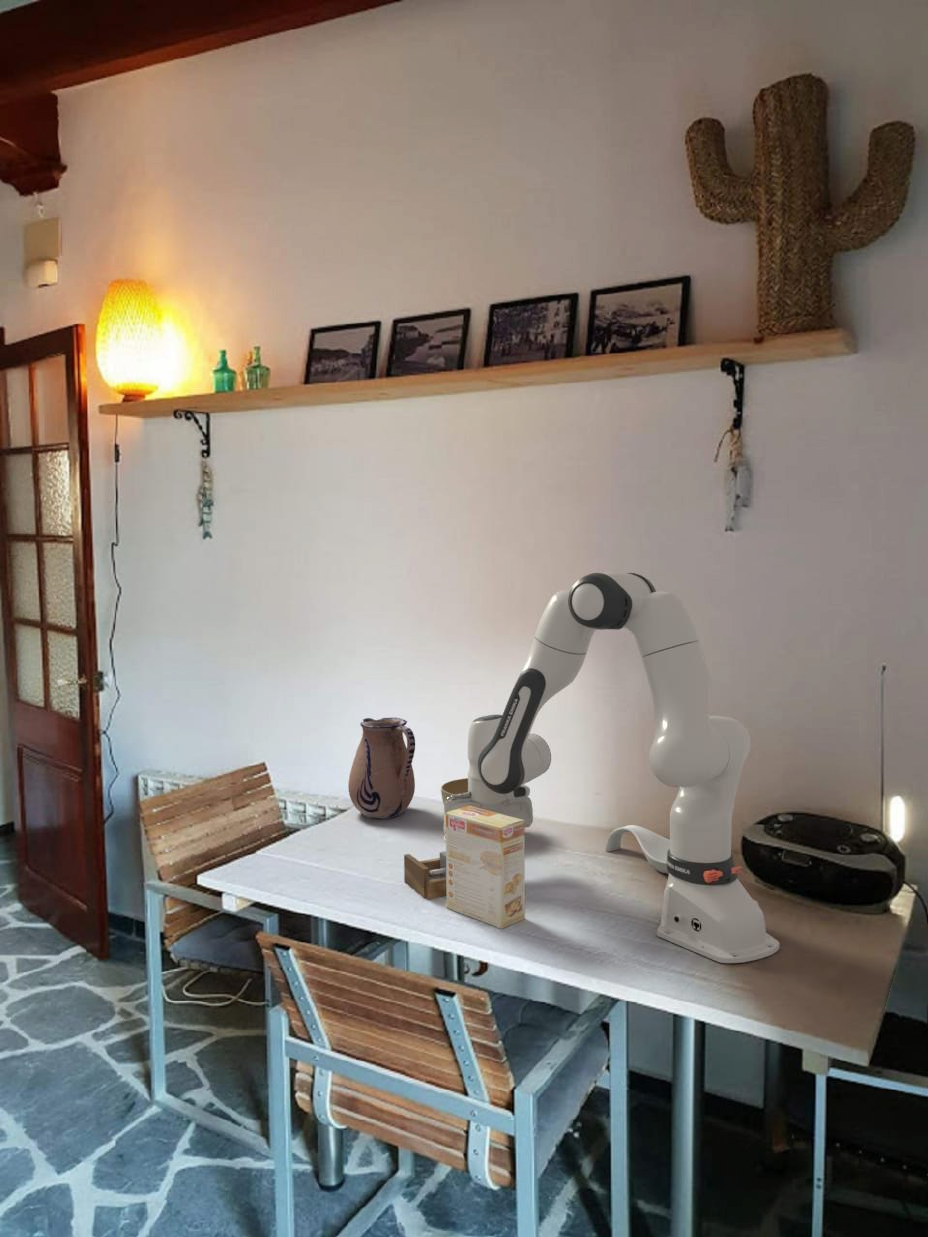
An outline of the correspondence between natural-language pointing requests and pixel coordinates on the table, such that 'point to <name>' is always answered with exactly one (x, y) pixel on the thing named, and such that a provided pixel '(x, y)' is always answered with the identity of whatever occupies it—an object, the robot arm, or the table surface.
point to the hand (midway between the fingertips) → (488, 852)
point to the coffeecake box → (485, 865)
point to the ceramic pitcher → (383, 769)
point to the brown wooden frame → (424, 877)
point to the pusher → (441, 866)
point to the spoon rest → (643, 845)
